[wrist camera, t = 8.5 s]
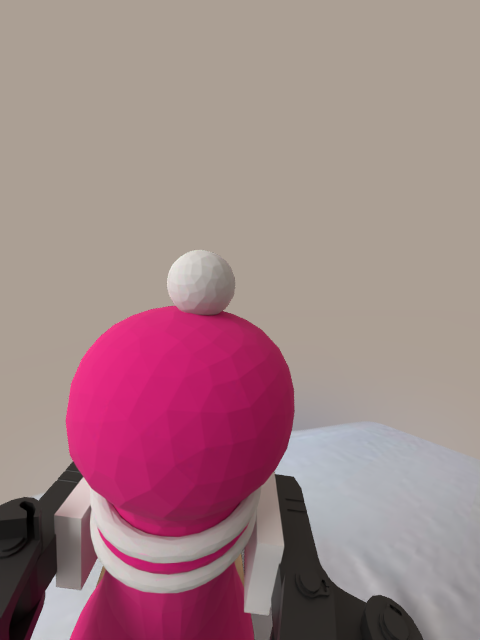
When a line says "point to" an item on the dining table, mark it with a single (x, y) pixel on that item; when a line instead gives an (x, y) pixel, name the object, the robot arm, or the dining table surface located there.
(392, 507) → the dining table surface
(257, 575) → the robot arm
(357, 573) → the dining table surface
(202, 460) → the pepper mill
